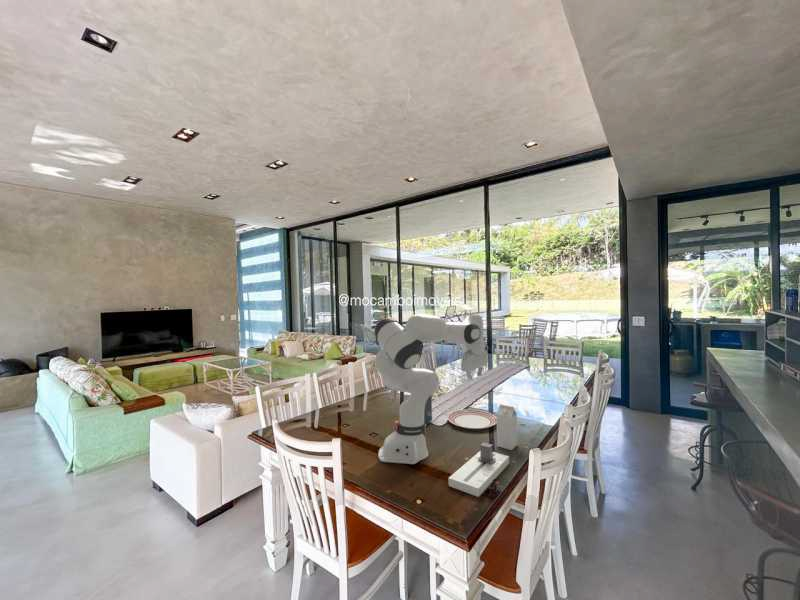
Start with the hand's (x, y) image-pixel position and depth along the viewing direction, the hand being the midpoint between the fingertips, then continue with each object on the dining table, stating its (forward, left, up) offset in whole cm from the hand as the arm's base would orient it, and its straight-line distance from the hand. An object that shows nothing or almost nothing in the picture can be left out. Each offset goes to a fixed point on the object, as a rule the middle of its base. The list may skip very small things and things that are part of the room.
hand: (474, 377), depth 160 cm
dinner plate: (+5, +30, -33) cm, 45 cm away
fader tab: (0, -21, -29) cm, 36 cm away
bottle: (-22, +35, -33) cm, 53 cm away
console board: (-4, -25, -32) cm, 41 cm away
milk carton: (+15, 0, -33) cm, 36 cm away
